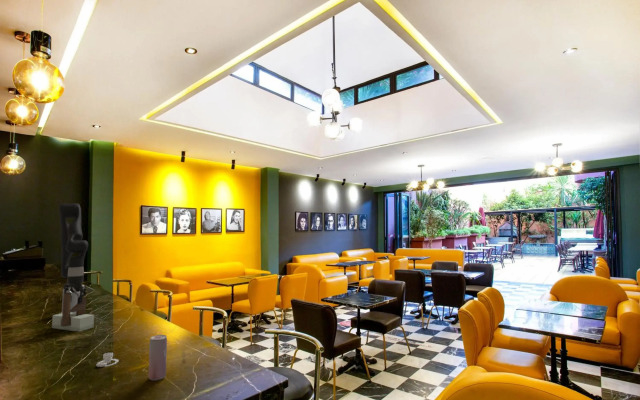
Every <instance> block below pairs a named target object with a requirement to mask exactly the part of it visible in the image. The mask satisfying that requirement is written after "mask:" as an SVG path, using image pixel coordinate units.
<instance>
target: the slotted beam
mask: <svg viewBox="0 0 640 400" xmlns="http://www.w3.org/2000/svg"><path fill="white" fill-rule="evenodd" d="M75 314H76V313H72V312H70V317H72V318H71V325H68V326H61V319H62V312H61V313H58V314H57V313H56V314H53V315H52V320H51V321H52V323H51V328H52V329H55V330H57V329H58V330H64V331H71V332H72V331H73V332H83V331H86V330H89V329H92V328H94V325H95V323H94V322H95V314H90V313H85V314H83V315H79V316H76V315H75Z"/></svg>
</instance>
